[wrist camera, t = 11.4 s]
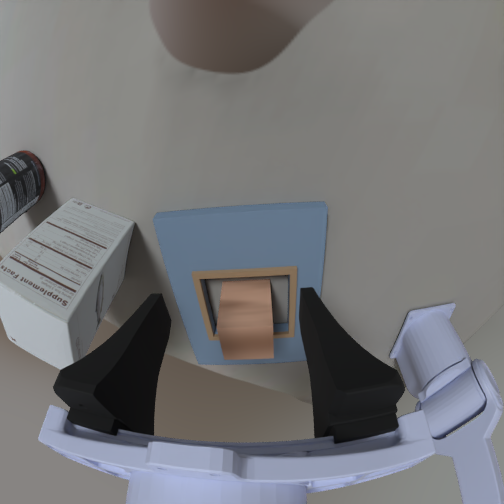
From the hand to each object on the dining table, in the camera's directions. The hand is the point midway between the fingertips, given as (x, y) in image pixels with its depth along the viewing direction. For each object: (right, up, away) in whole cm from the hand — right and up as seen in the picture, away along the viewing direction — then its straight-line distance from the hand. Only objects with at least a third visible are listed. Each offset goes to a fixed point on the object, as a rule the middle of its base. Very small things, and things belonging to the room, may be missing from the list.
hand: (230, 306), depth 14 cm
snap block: (+1, -2, +14) cm, 14 cm away
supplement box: (-14, +4, +10) cm, 18 cm away
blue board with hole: (+1, -2, +14) cm, 14 cm away
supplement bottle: (-21, +10, +6) cm, 25 cm away
